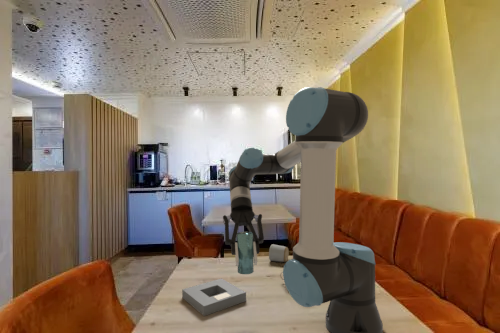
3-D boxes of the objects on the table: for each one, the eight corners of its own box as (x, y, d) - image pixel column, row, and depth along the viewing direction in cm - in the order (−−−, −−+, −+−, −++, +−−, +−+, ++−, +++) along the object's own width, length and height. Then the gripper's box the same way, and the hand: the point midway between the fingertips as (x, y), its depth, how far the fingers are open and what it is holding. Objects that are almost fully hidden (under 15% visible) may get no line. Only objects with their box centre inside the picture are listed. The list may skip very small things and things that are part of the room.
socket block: (246, 301, 100) (246, 291, 100) (203, 316, 91) (203, 305, 91) (221, 286, 113) (221, 278, 113) (182, 297, 104) (182, 289, 104)
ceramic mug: (285, 264, 137) (285, 247, 137) (268, 262, 140) (268, 246, 140) (291, 258, 147) (290, 242, 147) (275, 256, 150) (275, 241, 150)
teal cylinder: (256, 271, 93) (256, 233, 93) (243, 275, 90) (243, 236, 90) (247, 267, 97) (246, 230, 97) (234, 271, 94) (233, 233, 94)
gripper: (264, 207, 110) (274, 267, 93) (215, 209, 108) (216, 270, 91) (267, 195, 104) (277, 255, 88) (215, 196, 102) (216, 258, 86)
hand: (246, 263), depth 90 cm, fingers closed on teal cylinder, 5 cm apart
